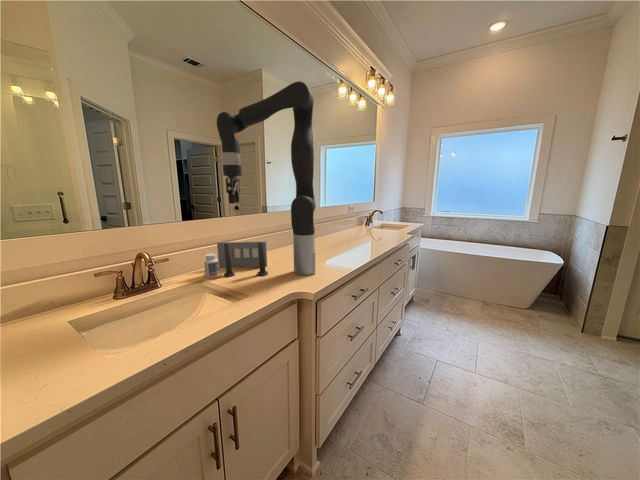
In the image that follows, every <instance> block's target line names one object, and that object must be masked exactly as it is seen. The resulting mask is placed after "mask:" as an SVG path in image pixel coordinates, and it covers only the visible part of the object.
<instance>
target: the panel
mask: <svg viewBox="0 0 640 480" xmlns="http://www.w3.org/2000/svg"><path fill="white" fill-rule="evenodd" d="M258 242H259V241H224V242H223V241H220V242H219V241H218V242H216V246H217V247H216V248H217V260H218V265H219V269H226V263H225V251H224V243H230V249H231V262H232V269H235V268H260V266H259V247H258ZM260 242H264V251H265V268H266V267H268V256H267V255H268V254H267V241H260Z"/></svg>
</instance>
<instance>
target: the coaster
mask: <svg viewBox="0 0 640 480" xmlns="http://www.w3.org/2000/svg"><path fill="white" fill-rule="evenodd" d="M223 276H224V274H223V272H220V271H219V275H217V276H213V277H208V276H206V273H204V274H202V276H201V278H202V279H203V280H213V279H214V280H215V279H218V278H221V277H223Z"/></svg>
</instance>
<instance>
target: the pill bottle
mask: <svg viewBox="0 0 640 480" xmlns="http://www.w3.org/2000/svg"><path fill="white" fill-rule="evenodd" d="M204 256H205V260H204V269H205V270H204V273H205V274H206V276H208V277H213V276H217V275H219V272H220V268H219V261H218V258H217V255H216V253H206V254H205V255H204Z"/></svg>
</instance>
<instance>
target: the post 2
mask: <svg viewBox="0 0 640 480" xmlns="http://www.w3.org/2000/svg"><path fill="white" fill-rule="evenodd" d="M257 242H258V247H259V266H260V267H259V271H258V272H257V276H258V277H265V276H267V275H268V274H269V271H268V270H266V267H265V251H264V242H261V241H257Z"/></svg>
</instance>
